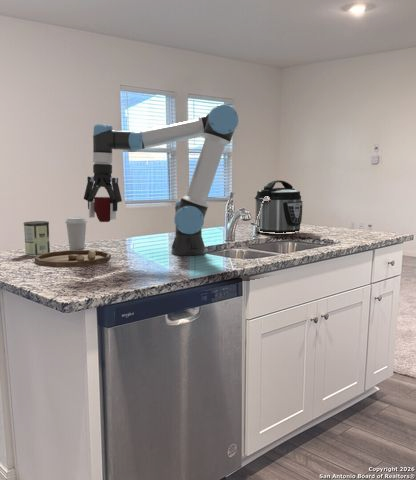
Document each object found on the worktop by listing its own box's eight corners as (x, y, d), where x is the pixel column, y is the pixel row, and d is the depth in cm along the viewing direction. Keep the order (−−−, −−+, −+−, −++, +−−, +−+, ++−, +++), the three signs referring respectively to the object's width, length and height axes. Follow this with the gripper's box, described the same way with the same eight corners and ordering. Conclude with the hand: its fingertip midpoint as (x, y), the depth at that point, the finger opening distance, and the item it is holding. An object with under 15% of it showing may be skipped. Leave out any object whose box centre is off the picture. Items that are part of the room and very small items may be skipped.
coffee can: (35, 252, 213) (34, 220, 211) (55, 253, 210) (53, 221, 208) (19, 255, 204) (18, 222, 202) (39, 257, 200) (38, 223, 198)
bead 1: (86, 262, 183) (85, 254, 182) (80, 263, 180) (80, 255, 179) (79, 261, 184) (79, 254, 183) (74, 262, 181) (74, 255, 181)
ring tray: (124, 260, 195) (123, 252, 194) (77, 272, 170) (77, 264, 169) (70, 254, 207) (70, 247, 206) (20, 265, 182) (19, 257, 181)
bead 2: (97, 257, 193) (97, 250, 192) (92, 258, 190) (92, 251, 190) (91, 257, 194) (91, 249, 194) (86, 258, 192) (86, 250, 191)
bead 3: (97, 260, 187) (96, 252, 187) (92, 261, 185) (92, 253, 184) (91, 259, 189) (90, 252, 188) (86, 260, 186) (85, 253, 186)
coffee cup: (76, 253, 211) (75, 219, 209) (61, 251, 216) (60, 218, 214) (92, 250, 219) (91, 217, 217) (77, 248, 224) (76, 216, 222)
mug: (86, 221, 196) (85, 196, 195) (101, 220, 202) (101, 196, 201) (103, 222, 190) (103, 197, 189) (118, 221, 196) (118, 197, 195)
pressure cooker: (261, 236, 271) (262, 180, 267) (247, 231, 299) (247, 180, 294) (310, 235, 277) (312, 180, 273) (292, 230, 305) (293, 180, 300)
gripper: (131, 164, 191) (130, 219, 194) (86, 163, 201) (86, 215, 204) (120, 164, 185) (119, 221, 188) (74, 162, 195) (74, 216, 198)
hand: (102, 218), depth 196 cm, fingers closed on mug, 10 cm apart
